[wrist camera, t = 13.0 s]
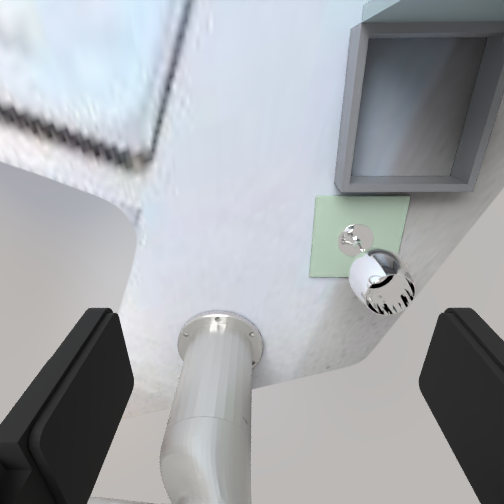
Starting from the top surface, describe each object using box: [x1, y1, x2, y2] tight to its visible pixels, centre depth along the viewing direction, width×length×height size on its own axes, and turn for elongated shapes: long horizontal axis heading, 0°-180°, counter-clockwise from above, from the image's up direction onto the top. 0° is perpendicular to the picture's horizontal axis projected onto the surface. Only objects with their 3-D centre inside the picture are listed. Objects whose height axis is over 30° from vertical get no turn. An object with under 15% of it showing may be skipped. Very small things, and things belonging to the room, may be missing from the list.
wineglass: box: [338, 224, 416, 315], centre depth 36 cm, size 6×6×12 cm
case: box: [334, 0, 504, 192], centre depth 26 cm, size 16×14×18 cm
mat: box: [309, 195, 411, 277], centre depth 41 cm, size 11×11×1 cm
